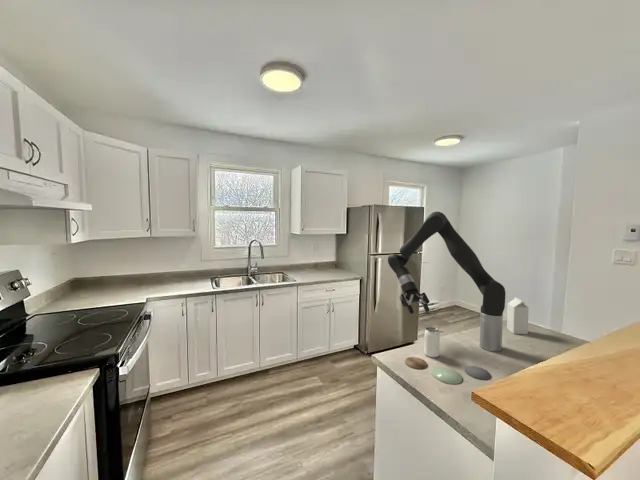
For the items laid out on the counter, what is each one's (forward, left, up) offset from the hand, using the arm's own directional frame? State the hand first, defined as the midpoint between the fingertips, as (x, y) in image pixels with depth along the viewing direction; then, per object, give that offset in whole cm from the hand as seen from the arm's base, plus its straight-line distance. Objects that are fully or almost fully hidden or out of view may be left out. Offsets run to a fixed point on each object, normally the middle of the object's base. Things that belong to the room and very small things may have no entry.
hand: (420, 312), depth 134 cm
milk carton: (-60, +20, -17) cm, 65 cm away
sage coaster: (+14, +23, -17) cm, 32 cm away
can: (+3, +9, -17) cm, 19 cm away
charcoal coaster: (+2, +29, -17) cm, 34 cm away
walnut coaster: (+16, +10, -17) cm, 26 cm away
